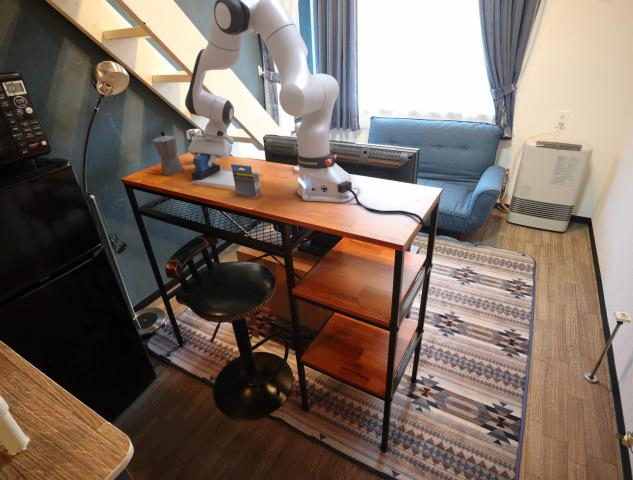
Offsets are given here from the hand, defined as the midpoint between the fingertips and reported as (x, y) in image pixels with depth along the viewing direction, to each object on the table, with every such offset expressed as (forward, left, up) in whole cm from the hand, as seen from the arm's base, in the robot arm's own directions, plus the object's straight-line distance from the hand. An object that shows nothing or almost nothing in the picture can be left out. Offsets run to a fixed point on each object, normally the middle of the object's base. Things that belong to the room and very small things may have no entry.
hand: (203, 165), depth 145 cm
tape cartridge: (-30, +10, -6) cm, 32 cm away
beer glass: (+18, -17, -6) cm, 25 cm away
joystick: (-38, -21, -6) cm, 43 cm away
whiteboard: (-11, -1, -5) cm, 12 cm away
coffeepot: (+21, -2, -6) cm, 22 cm away
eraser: (0, -1, -4) cm, 4 cm away
